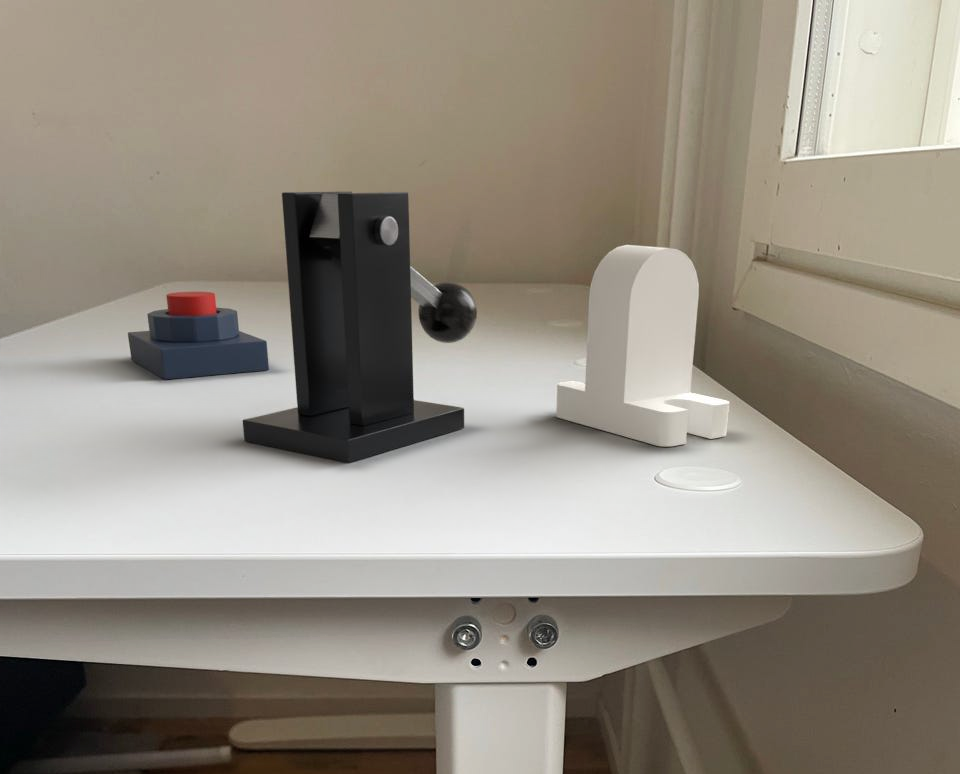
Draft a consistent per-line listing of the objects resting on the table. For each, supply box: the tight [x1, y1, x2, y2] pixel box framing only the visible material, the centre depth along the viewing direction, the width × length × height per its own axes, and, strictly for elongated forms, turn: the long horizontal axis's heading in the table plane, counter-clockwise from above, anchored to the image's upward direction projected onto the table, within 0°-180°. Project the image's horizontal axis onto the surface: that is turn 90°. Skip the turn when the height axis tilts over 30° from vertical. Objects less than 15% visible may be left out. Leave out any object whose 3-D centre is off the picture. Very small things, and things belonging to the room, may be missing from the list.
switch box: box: [127, 307, 270, 381], centre depth 79 cm, size 10×8×4 cm
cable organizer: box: [555, 244, 730, 448], centre depth 59 cm, size 5×10×10 cm, turn 35°
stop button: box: [165, 291, 217, 316], centre depth 78 cm, size 4×4×2 cm
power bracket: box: [242, 190, 465, 463], centre depth 56 cm, size 10×8×13 cm
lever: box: [309, 194, 478, 344], centre depth 59 cm, size 13×4×4 cm
